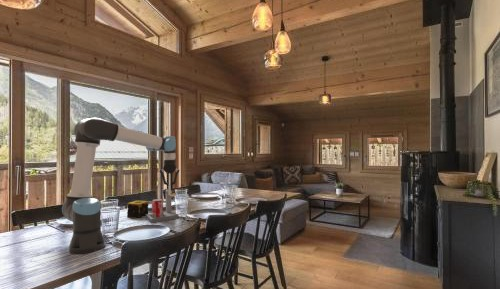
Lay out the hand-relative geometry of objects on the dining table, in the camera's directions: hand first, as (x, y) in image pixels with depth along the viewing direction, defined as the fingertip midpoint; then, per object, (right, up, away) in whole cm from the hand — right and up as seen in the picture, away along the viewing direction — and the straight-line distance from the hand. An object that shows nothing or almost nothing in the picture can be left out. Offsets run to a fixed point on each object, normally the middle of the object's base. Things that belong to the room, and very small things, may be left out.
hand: (169, 194), depth 184 cm
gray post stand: (-6, -17, +3) cm, 18 cm away
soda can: (-8, -17, +1) cm, 19 cm away
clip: (-1, -1, +5) cm, 5 cm away
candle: (-25, -17, +9) cm, 31 cm away
